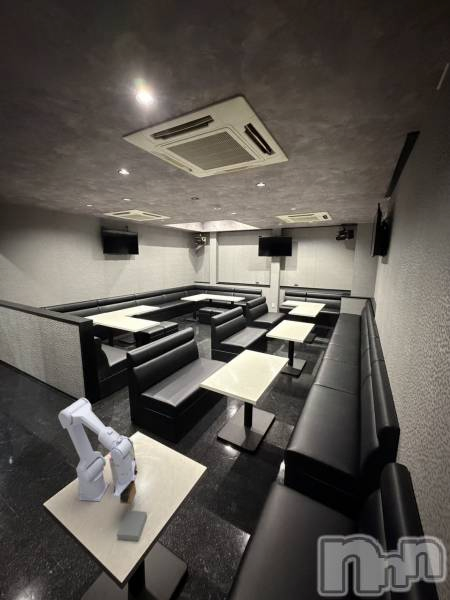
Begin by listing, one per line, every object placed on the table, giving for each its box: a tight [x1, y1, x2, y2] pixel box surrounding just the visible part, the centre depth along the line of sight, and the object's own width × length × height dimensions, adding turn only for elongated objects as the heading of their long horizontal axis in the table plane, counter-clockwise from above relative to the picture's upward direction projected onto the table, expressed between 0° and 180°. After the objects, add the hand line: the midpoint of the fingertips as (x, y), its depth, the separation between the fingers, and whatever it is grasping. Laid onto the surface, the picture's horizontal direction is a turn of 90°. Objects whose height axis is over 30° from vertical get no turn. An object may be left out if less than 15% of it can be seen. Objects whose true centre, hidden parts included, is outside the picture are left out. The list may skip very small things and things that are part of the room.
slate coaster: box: [116, 510, 148, 542], centre depth 91 cm, size 8×8×3 cm
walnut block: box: [119, 482, 137, 505], centre depth 97 cm, size 4×4×5 cm
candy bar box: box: [108, 439, 138, 489], centre depth 109 cm, size 11×5×16 cm, turn 168°
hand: (128, 494), depth 97 cm, fingers closed on walnut block, 4 cm apart
